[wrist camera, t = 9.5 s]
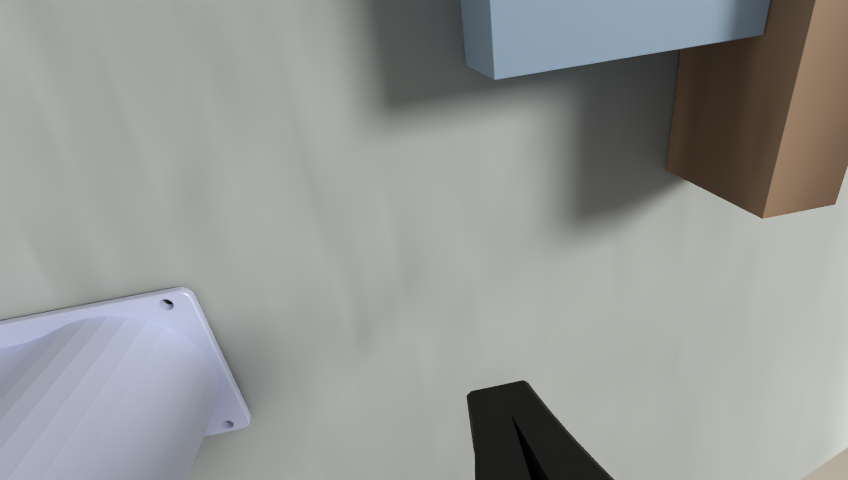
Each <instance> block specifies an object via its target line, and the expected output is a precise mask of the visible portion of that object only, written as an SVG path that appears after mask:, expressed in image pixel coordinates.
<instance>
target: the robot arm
mask: <svg viewBox="0 0 848 480" xmlns="http://www.w3.org/2000/svg"><path fill="white" fill-rule="evenodd" d="M163 299H167V300H170V301H171V302H172V303H173V305H171V304H167V303H165V302H164V301H163ZM467 403H468V410H469V418H470V425H471V433H472V440H473V448H474V453H475V480H614V479H613V478H612V477H611V476H610V475H609V474H608V473H607V472H606V471H605V470H604V469H603V468H602V467H601V466H600V465H599V464H598V463H597V462H596V461H595V460H594V459H593V458H592V457H591V456H590V454H589V453H588V452H587V451H586V450H585V449H584V448H583V447H582V446H581V445H580V444H579V443H578V442H577V441H576V440H575V439H574V437H573V436H572V435H571V434H570V433H569V432H568V431H567V430H566V429H565V427H564V426H563V425H562V424H561V423H560V422H559V421H558V419H557V418H556V417H555V416H554V415H553V414H552V412H551V411H550V410H549V409H548V408H547V406H546V405H545V404H544V403H543V401H542V400H541V399H540V398H539V396H538V395H537V394H536V393H535V391H534V390H533V389H532V387H531V386H530V385H529V383H527V382H526V381H524V380H523V381H518V382H513V383H508V384H504V385H499V386H494V387H490V388H485V389H480V390H475V391H471V392H470V393H469V394H468V395H467ZM250 420H251V414H250V412H249V410H248V408H247V405H246V403H245V401H244V399H243V397H242V395H241V393H240V391H239V388H238V386H237V384H236V382H235V380H234V378H233V376H232V373H231V371H230V369H229V367H228V365H227V363H226V361H225V359H224V356H223V354H222V352H221V350H220V348H219V346H218V344H217V341H216V339H215V337H214V335H213V333H212V331H211V329H210V327H209V324H208V322H207V320H206V318H205V316H204V314H203V312H202V309H201V307H200V305H199V303H198V301H197V299H196V297H195V295H194V293H193V292H192V291H191V290H189V289H187V288H184V287H176V288H171V289H165V290H160V291H155V292H150V293H144V294H139V295H134V296H129V297H123V298H118V299H113V300H108V301H103V302H97V303H92V304H87V305H82V306H76V307H71V308H66V309H61V310H55V311H50V312H45V313H40V314H34V315H29V316H24V317H19V318H14V319H8V320H3V321H0V480H189V477H190V475H191V472H192V469H193V466H194V463H195V461H196V458H197V455H198V452H199V449H200V446H201V444H202V441H203V438H204V437H205V436H210V435H215V434H220V433H224V432H229V431H234V430H239V429H243V428H246V427H247V426H248V425H249V423H250ZM228 421H231V422H228Z"/></svg>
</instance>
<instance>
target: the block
mask: <svg viewBox="0 0 848 480" xmlns="http://www.w3.org/2000/svg"><path fill="white" fill-rule="evenodd" d="M460 4H461V15H462V27H463V38H464V50H465V61H466V66H467V67H469V68H471V69H473V70H475V71H477V72H479V73H482V74H484V75H486V76H488V77H490V78H492V79H494V80H497V79H503V78H509V77H515V76H521V75H527V74H533V73H539V72H545V71H551V70H557V69H563V68H569V67H575V66H581V65H587V64H593V63H598V62H604V61H610V60H616V59H622V58H628V57H634V56H640V55H646V54H652V53H658V52H664V51H670V50H676V49H682V48H688V47H694V46H700V45H706V44H712V43H718V42H724V41H730V40H736V39H741V38H747V37H753V36H759V35H763V34H764V29H765V24H766V19H767V14H768V9H769V4H770V0H460Z"/></svg>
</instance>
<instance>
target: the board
mask: <svg viewBox="0 0 848 480" xmlns="http://www.w3.org/2000/svg"><path fill="white" fill-rule="evenodd" d="M847 166H848V0H770V4H769V9H768V14H767V19H766V24H765V29H764V34H763V35H759V36H753V37H747V38H741V39H736V40H730V41H724V42H718V43H712V44H706V45H700V46H694V47H688V48H682V49H681V50H680V58H679V66H678V74H677V82H676V90H675V98H674V107H673V115H672V123H671V131H670V139H669V147H668V155H667V163H666V170H667V171H669V172H671V173H673V174H675V175H677V176H679V177H681V178H683V179H685V180H687V181H689V182H691V183H693V184H695V185H697V186H699V187H701V188H703V189H705V190H707V191H709V192H711V193H713V194H715V195H717V196H719V197H721V198H723V199H725V200H727V201H729V202H731V203H733V204H734V205H736V206H738V207H740V208H742V209H744V210H746V211H748V212H750V213H752V214H754V215H756V216H758V217H760V218H762V219H763V218H768V217H773V216H778V215H783V214H789V213H794V212H799V211H804V210H809V209H814V208H819V207H824V206H829V205H834V204H835V203H836V200H837V197H838V194H839V191H840V187H841V184H842V181H843V178H844V175H845V172H846V169H847Z"/></svg>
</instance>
